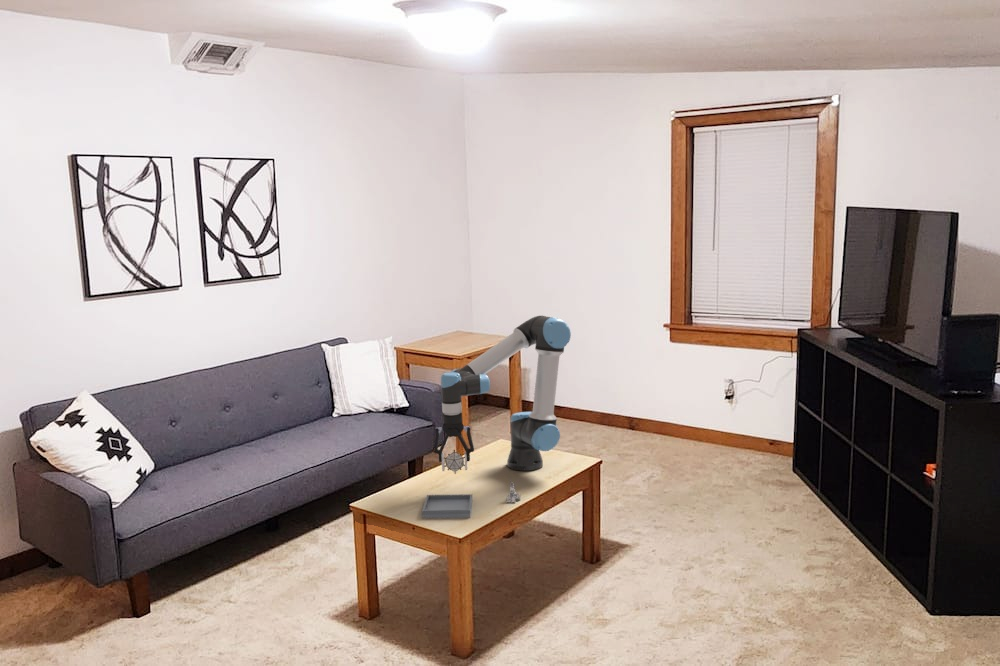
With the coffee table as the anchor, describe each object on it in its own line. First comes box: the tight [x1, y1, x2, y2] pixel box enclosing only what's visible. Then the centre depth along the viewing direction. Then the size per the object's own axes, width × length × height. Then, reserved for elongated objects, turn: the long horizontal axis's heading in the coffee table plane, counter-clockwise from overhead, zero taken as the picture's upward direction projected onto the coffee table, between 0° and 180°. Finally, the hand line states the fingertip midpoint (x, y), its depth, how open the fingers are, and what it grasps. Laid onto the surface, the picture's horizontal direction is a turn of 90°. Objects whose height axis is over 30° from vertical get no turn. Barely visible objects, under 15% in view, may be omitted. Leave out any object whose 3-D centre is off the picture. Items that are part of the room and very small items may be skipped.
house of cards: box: [505, 481, 521, 504], centre depth 312 cm, size 9×9×8 cm
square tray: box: [421, 493, 474, 519], centre depth 305 cm, size 17×17×3 cm
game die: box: [444, 449, 465, 475], centre depth 322 cm, size 9×8×10 cm
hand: (454, 469), depth 323 cm, fingers closed on game die, 8 cm apart
